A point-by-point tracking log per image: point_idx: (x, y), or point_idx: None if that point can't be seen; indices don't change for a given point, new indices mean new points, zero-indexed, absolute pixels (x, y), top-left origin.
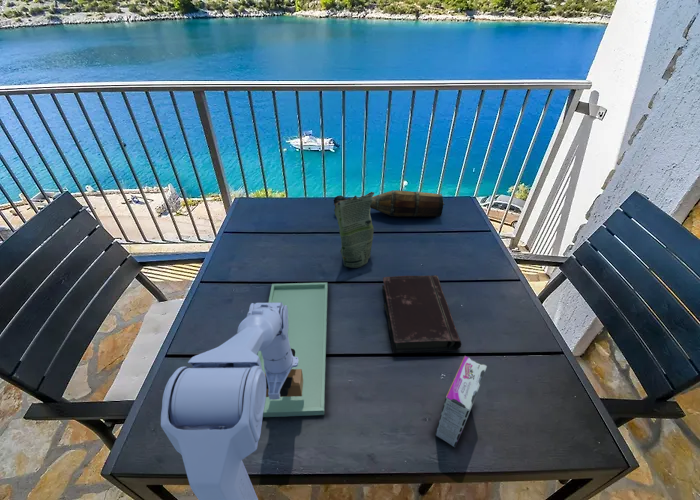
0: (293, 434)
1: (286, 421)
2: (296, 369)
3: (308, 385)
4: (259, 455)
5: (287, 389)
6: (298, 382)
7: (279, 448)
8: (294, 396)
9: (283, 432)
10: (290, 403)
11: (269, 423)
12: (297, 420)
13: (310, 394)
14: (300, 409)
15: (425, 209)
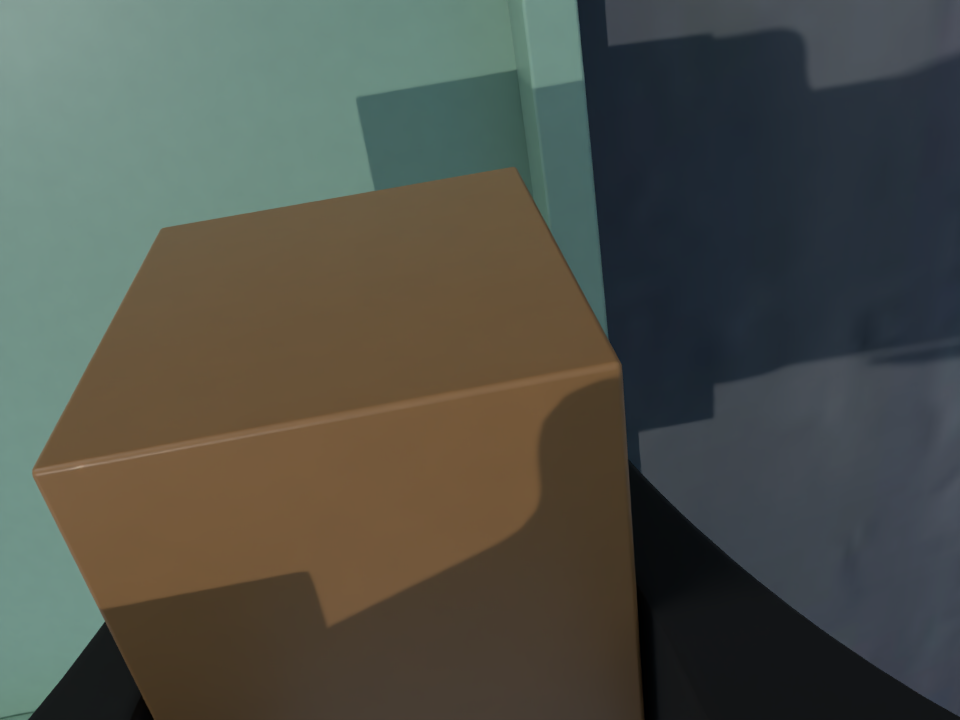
0: (786, 116)
1: (635, 241)
2: (107, 595)
3: (109, 90)
4: (956, 385)
5: (923, 702)
6: (520, 425)
7: (920, 226)
8: None
9: (758, 236)
10: None
11: (661, 402)
12: (619, 113)
13: (248, 20)
14: (558, 115)
15: None
